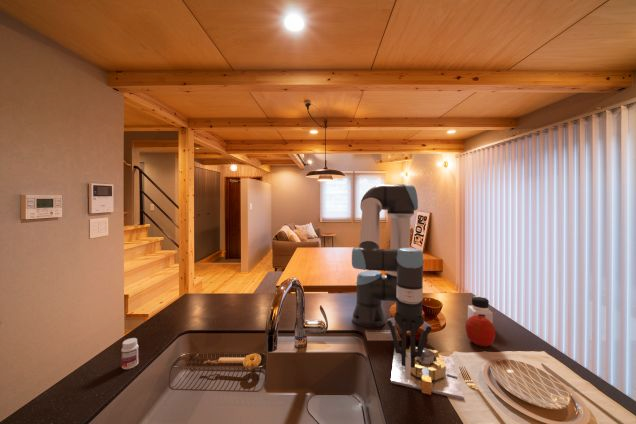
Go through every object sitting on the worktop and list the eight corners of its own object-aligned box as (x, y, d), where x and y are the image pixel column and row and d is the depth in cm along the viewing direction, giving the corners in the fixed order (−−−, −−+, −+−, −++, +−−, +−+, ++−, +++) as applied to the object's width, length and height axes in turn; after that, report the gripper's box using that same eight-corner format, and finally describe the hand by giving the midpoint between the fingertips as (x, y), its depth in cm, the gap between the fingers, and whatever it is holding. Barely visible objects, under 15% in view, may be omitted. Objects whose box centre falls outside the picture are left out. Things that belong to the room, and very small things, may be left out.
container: (492, 330, 114) (493, 301, 113) (473, 328, 115) (474, 300, 115) (485, 322, 121) (485, 295, 121) (467, 321, 123) (467, 294, 122)
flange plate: (394, 348, 98) (394, 331, 98) (452, 359, 91) (453, 341, 91) (390, 382, 79) (391, 361, 79) (463, 399, 73) (464, 376, 72)
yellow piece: (404, 352, 93) (404, 342, 93) (442, 360, 89) (442, 348, 89) (403, 388, 75) (403, 375, 75) (450, 399, 71) (451, 385, 71)
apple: (459, 338, 106) (460, 311, 106) (479, 336, 109) (480, 309, 108) (479, 352, 96) (480, 322, 96) (501, 349, 99) (502, 319, 98)
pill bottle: (127, 361, 89) (127, 337, 89) (141, 360, 89) (141, 337, 89) (117, 370, 84) (117, 345, 84) (133, 369, 85) (132, 344, 84)
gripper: (386, 301, 76) (384, 379, 77) (433, 307, 72) (432, 389, 73) (387, 293, 83) (386, 364, 84) (431, 298, 79) (429, 373, 80)
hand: (407, 376), depth 78 cm, fingers closed
